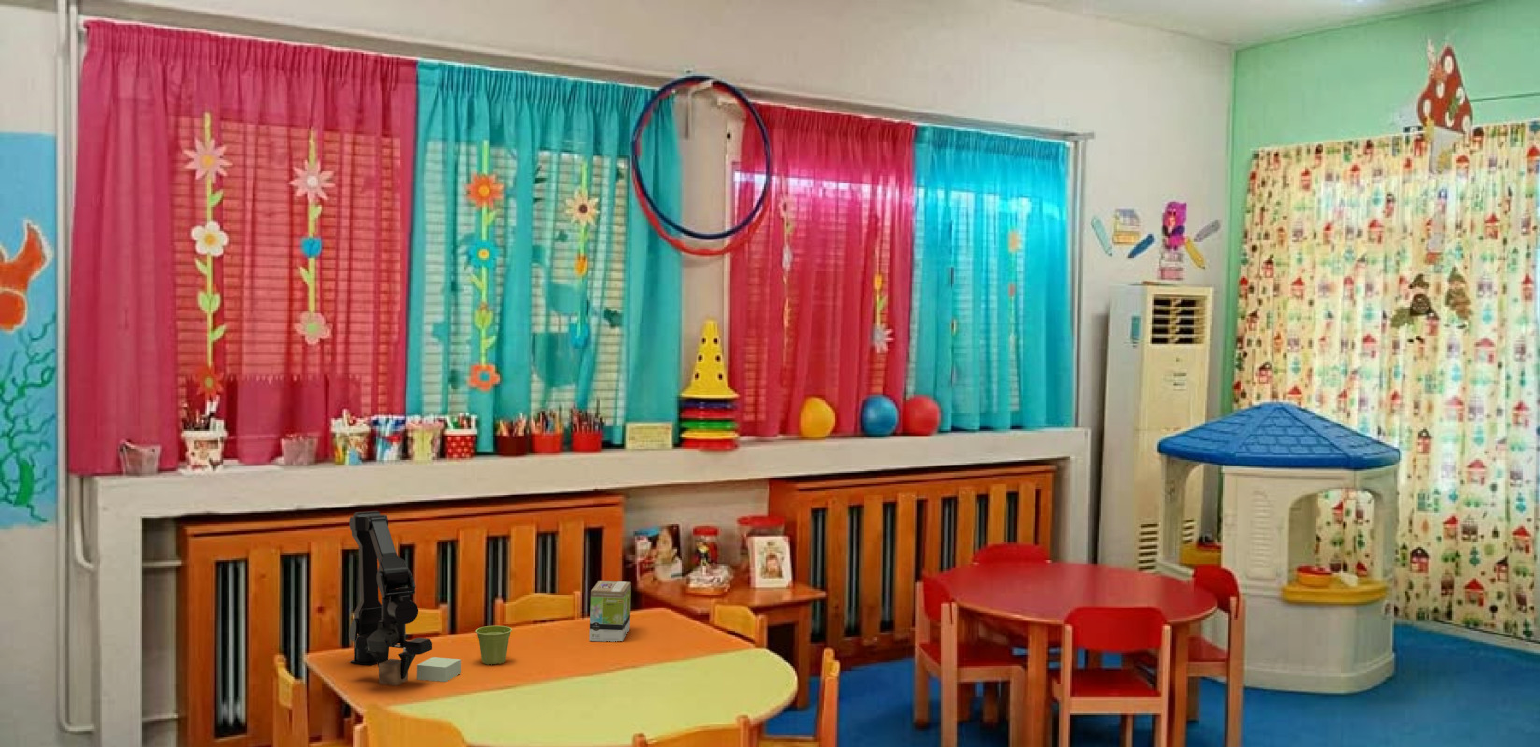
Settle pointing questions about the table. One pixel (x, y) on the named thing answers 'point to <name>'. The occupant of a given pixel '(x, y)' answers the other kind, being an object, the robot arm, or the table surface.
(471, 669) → the table surface
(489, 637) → the plant pot
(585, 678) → the table surface
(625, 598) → the tea box
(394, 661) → the walnut cube
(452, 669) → the sage block
